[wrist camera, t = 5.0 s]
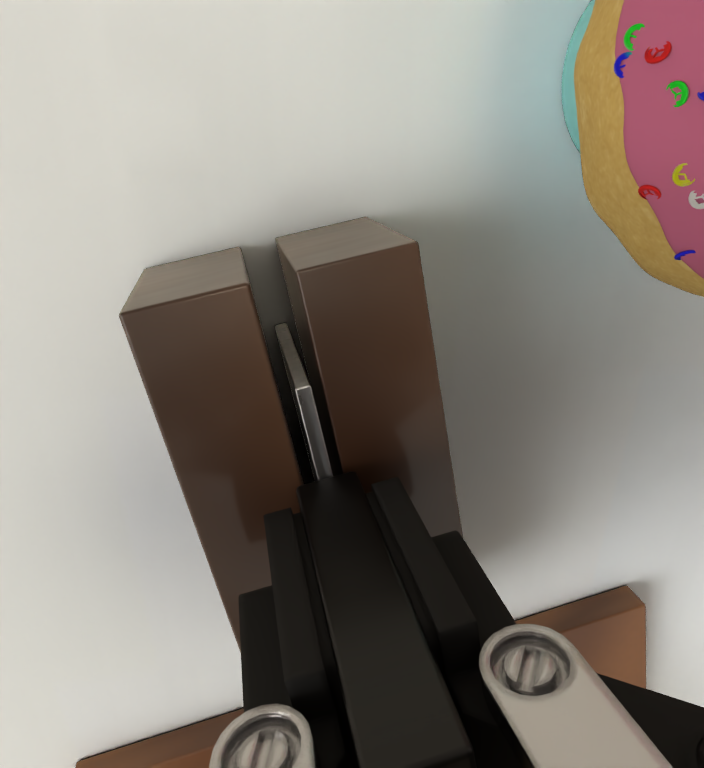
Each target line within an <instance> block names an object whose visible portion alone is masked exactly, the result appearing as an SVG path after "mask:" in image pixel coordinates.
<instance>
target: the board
mask: <svg viewBox="0 0 704 768" xmlns="http://www.w3.org/2000/svg"><path fill="white" fill-rule="evenodd" d="M515 622H516V624H536V625H540V626H544V627H548V628H551V629H552V630H554V631H556V632H558V633H560V634H562V635H563V636H564V637H565V638H567V639H568V640H569V641H570V642H571V643H572V644H573V645H574V646H575V647H576V649H577V650H578V651H579V652H580V654H581V655H582V656H583V657H584V659H585V660H586V661H587V662H588V663H589V665H590V666H591V667H592V668H593V670H594V671H595V672H596V673H598V674H601V675H604V676H607V677H611V678H614V679H617V680H620V681H623V682H626V683H629V684H632V685H635V686H638V687H642V688H645V689H646V606H645V604H644V603H643V602H642V601H641V600H640V598H639V597H638V596H637V595H636V594H635V593H634V592H633V591H632V590H631V589H630V588H629V587H628V586H623V587H620V588H617V589H613V590H610V591H607V592H604V593H601V594H598V595H595V596H592V597H589V598H585V599H582V600H579V601H576V602H573V603H570V604H567V605H564V606H560V607H557V608H554V609H551V610H548V611H545V612H542V613H539V614H536V615H532V616H529V617H526V618H523V619H520V620H517V621H515ZM243 713H244V708H243V709H240V710H237V711H234V712H231V713H227V714H224V715H221V716H218V717H215V718H212V719H209V720H206V721H203V722H199V723H196V724H193V725H190V726H187V727H184V728H181V729H178V730H174V731H171V732H168V733H165V734H162V735H159V736H156V737H153V738H150V739H146V740H143V741H140V742H137V743H134V744H131V745H128V746H125V747H122V748H118V749H115V750H112V751H109V752H106V753H103V754H100V755H97V756H94V757H90V758H87V759H84V760H81V761H78V762H77V763H76V767H75V768H209V764H210V760H211V755H212V751H213V748H214V746H215V744H216V742H217V740H218V738H219V737H220V735H221V733H222V732H223V731H224V730H225V729H226V728H227V727H228V725H229V724H230V723H231V722H232V721H233V720H235V719H236V718H237V717H239V716H240V715H242V714H243Z"/></svg>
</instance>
